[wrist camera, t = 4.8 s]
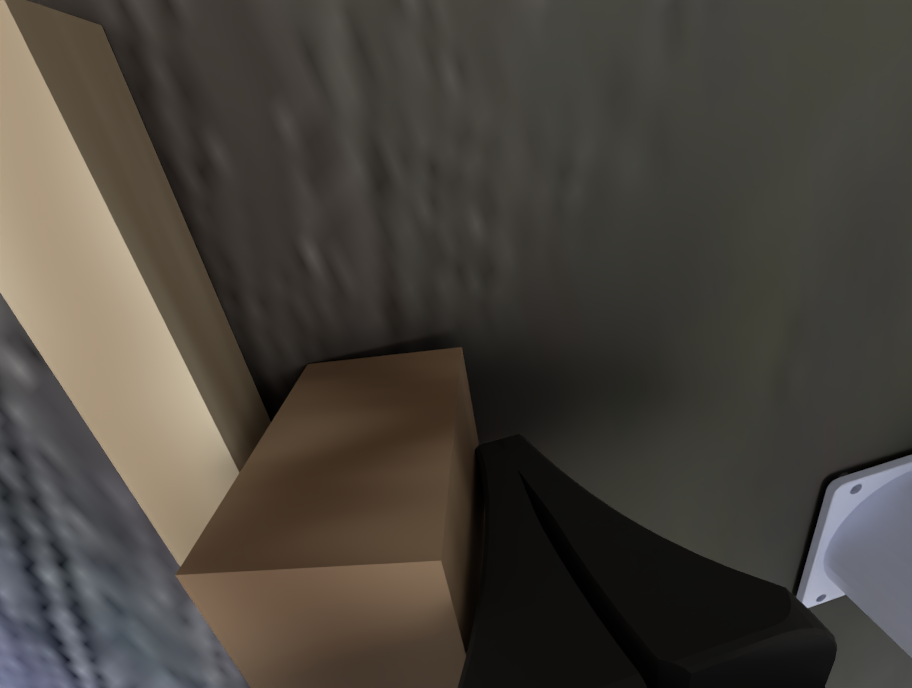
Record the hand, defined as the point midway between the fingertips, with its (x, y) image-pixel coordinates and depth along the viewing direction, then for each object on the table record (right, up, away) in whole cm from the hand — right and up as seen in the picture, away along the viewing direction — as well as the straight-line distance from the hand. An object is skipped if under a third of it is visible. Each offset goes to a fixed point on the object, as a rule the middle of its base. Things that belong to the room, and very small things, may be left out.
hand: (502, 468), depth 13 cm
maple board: (-7, -1, +1) cm, 7 cm away
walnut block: (-3, 0, +1) cm, 3 cm away
